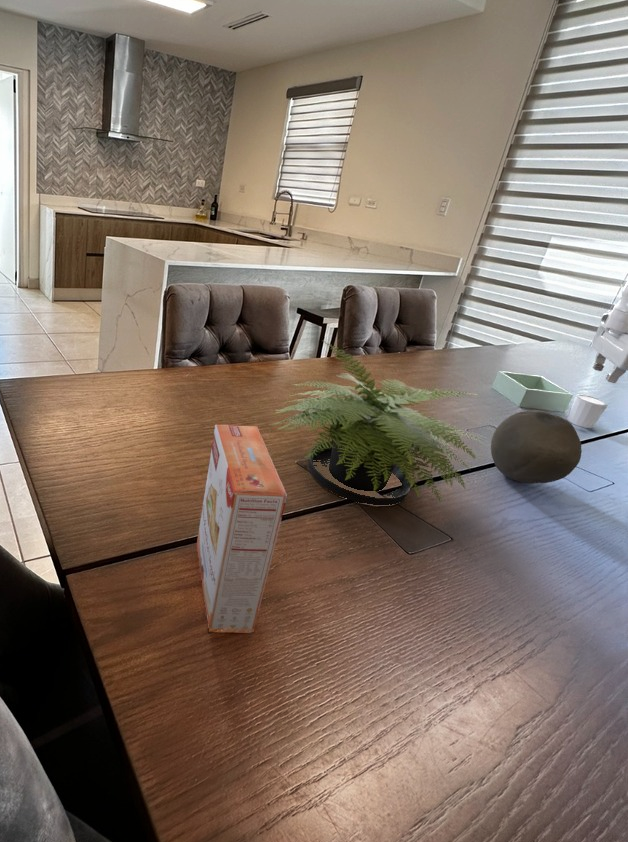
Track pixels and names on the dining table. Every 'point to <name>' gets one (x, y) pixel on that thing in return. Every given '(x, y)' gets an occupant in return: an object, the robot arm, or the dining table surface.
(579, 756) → the dining table surface
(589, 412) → the white short cylinder
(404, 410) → the fern plant
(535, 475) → the dark brown rounded lump
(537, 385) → the dish tub
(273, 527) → the cracker box
